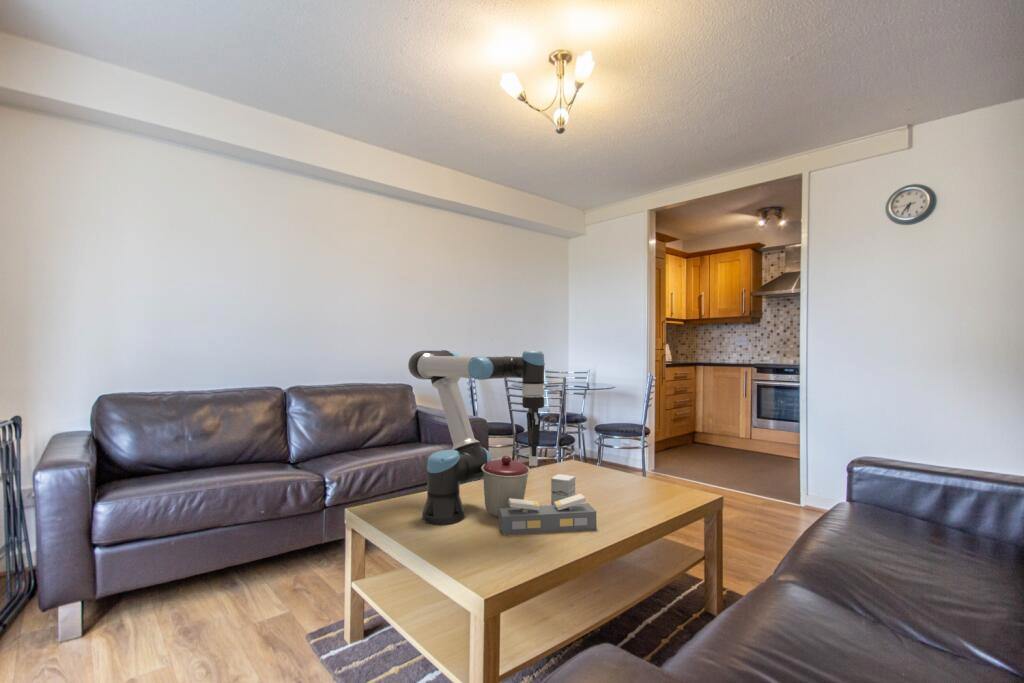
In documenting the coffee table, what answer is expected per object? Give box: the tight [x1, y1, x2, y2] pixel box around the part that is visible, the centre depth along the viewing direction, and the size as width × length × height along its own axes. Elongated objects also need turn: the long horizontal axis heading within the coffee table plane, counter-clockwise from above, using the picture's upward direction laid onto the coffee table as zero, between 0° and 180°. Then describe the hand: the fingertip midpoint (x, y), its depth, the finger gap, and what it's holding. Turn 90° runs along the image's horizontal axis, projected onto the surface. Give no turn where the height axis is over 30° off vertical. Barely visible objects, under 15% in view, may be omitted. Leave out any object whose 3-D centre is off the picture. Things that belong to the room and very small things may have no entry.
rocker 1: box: [508, 498, 541, 510], centre depth 161 cm, size 10×5×2 cm, turn 98°
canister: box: [481, 455, 531, 518], centre depth 176 cm, size 18×18×21 cm
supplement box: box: [550, 473, 576, 505], centre depth 180 cm, size 7×7×13 cm
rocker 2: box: [554, 493, 587, 510], centre depth 163 cm, size 10×5×2 cm, turn 99°
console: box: [498, 502, 598, 536], centre depth 162 cm, size 32×9×8 cm, turn 98°
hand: (533, 465), depth 162 cm, fingers closed
